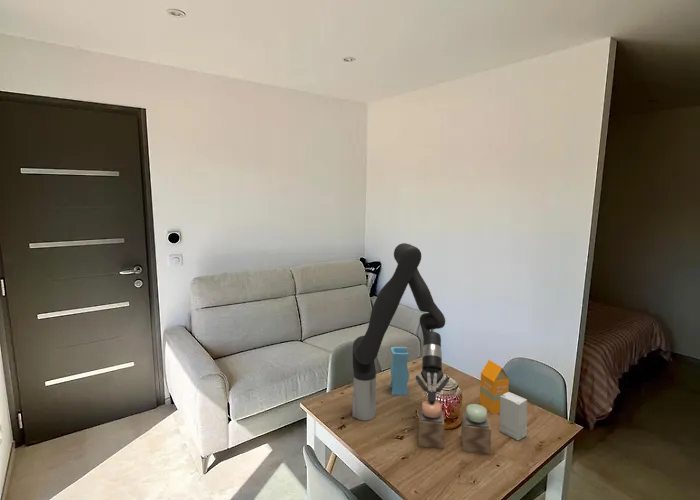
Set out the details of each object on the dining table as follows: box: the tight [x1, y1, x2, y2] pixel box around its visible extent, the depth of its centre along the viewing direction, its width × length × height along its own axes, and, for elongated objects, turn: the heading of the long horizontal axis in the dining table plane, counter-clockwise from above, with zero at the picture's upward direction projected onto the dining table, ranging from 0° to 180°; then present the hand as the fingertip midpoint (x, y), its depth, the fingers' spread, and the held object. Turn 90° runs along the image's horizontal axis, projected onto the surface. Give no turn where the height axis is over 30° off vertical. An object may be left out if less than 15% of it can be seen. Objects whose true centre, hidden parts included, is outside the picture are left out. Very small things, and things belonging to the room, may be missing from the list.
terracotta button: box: [421, 399, 442, 418], centre depth 142 cm, size 7×7×3 cm
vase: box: [389, 346, 410, 396], centre depth 179 cm, size 8×8×20 cm
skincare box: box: [499, 391, 528, 441], centre depth 147 cm, size 8×6×15 cm
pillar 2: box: [460, 412, 492, 455], centre depth 140 cm, size 9×9×10 cm
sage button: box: [465, 403, 488, 422], centre depth 139 cm, size 7×7×3 cm
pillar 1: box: [417, 408, 445, 450], centre depth 143 cm, size 9×9×10 cm
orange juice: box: [479, 359, 510, 415], centre depth 164 cm, size 8×9×20 cm
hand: (431, 402), depth 142 cm, fingers closed
